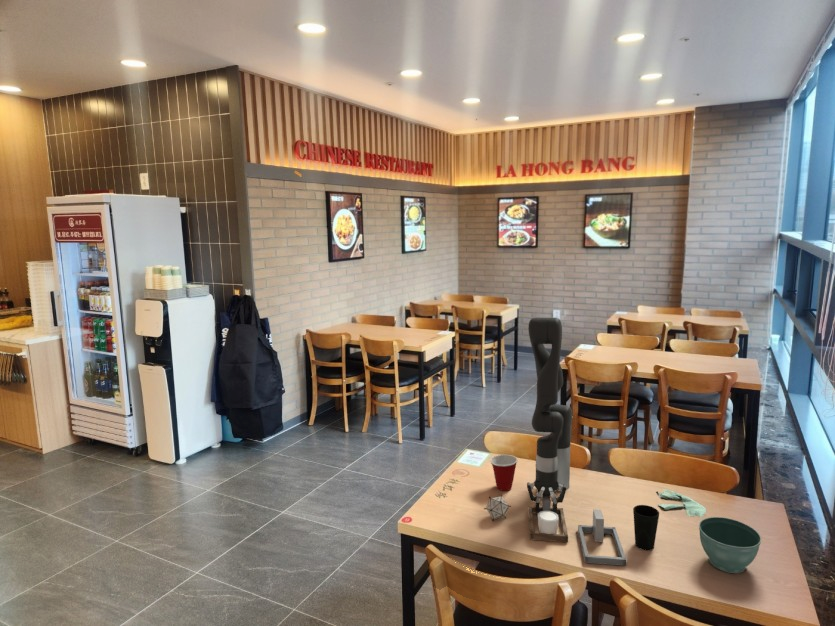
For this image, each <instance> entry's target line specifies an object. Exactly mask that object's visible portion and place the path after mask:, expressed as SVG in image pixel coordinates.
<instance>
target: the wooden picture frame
mask: <svg viewBox="0 0 835 626" xmlns="http://www.w3.org/2000/svg"><path fill="white" fill-rule="evenodd" d="M551 499H552V498H551V495H542V497H541V506H540V512H541V511H551V512H553V507H551V501H552V500H551ZM527 512H528V523H529V524H528V525H529V538H530V541H545V542H546V541H547V542H559V543H569V534H568V528H567V524H566V523H567V522H566V520H565V519H566V518H565V513H564V508H563V507H561V508H560V507H557V512H555V513H556V514H557V515H558V516H559V517H560V522H561V527H562V533H563V534H561V533H557V534H546V533H539V532H534V522H533V514H538V512H537V511H536V509H535V506H534V505H533V506H530V505H529V506H528V511H527Z"/></svg>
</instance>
